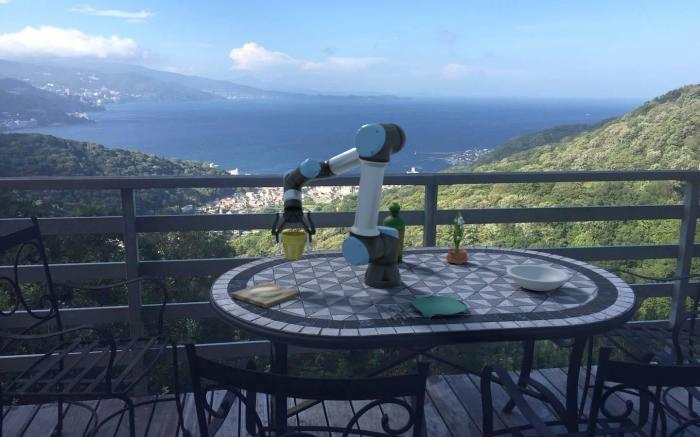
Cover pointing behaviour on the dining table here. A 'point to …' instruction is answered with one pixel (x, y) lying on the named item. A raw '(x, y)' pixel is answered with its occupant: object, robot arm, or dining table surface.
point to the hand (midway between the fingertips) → (294, 249)
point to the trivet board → (266, 294)
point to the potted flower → (457, 243)
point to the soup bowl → (537, 277)
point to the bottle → (396, 226)
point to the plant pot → (293, 243)
